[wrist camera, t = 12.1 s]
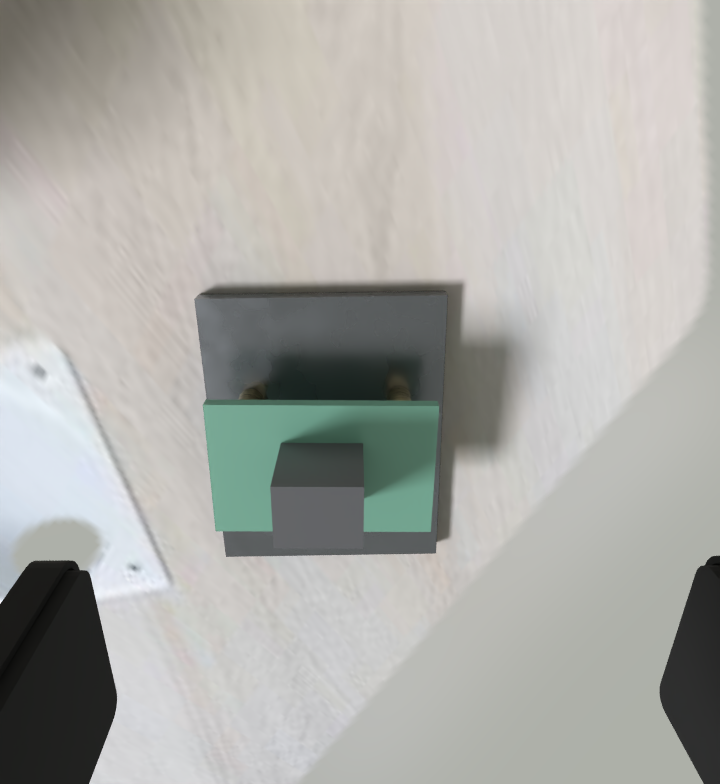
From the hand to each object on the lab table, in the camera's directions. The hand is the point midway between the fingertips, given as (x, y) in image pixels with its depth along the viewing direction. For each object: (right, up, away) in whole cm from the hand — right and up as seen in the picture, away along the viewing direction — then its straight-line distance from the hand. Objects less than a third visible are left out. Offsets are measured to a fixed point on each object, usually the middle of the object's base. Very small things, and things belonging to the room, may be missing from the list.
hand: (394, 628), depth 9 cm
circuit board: (-3, -1, +28) cm, 29 cm away
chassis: (-3, +1, +33) cm, 33 cm away
